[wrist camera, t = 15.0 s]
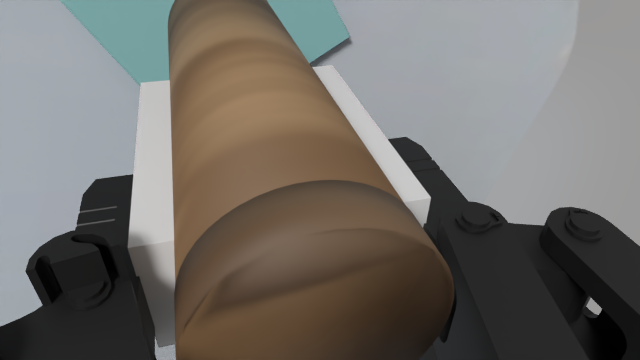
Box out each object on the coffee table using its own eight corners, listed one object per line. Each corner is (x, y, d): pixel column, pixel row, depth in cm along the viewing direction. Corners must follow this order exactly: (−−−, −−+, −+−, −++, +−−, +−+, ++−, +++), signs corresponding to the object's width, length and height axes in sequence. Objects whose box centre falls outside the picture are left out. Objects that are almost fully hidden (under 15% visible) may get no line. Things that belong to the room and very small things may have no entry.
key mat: (346, 32, 27) (350, 36, 26) (190, 135, 28) (191, 140, 27) (236, -180, 20) (237, -180, 20) (35, -32, 21) (32, -29, 21)
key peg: (275, 79, 19) (426, 387, 8) (174, 84, 18) (191, 442, 7) (276, -26, 17) (484, 207, 6) (160, -26, 16) (153, 253, 5)
